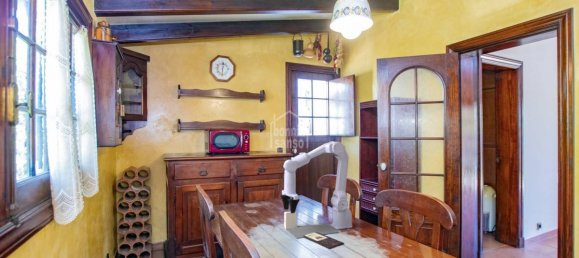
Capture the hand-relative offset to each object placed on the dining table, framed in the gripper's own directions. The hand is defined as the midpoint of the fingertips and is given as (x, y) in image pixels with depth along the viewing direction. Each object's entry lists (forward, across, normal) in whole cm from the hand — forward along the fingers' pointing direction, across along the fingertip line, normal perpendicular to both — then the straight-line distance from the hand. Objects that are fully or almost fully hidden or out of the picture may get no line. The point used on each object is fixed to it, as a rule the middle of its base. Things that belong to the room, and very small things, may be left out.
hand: (289, 211), depth 151 cm
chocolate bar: (+10, +20, +7) cm, 23 cm away
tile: (+10, -3, +2) cm, 10 cm away
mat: (+9, +7, +9) cm, 15 cm away
